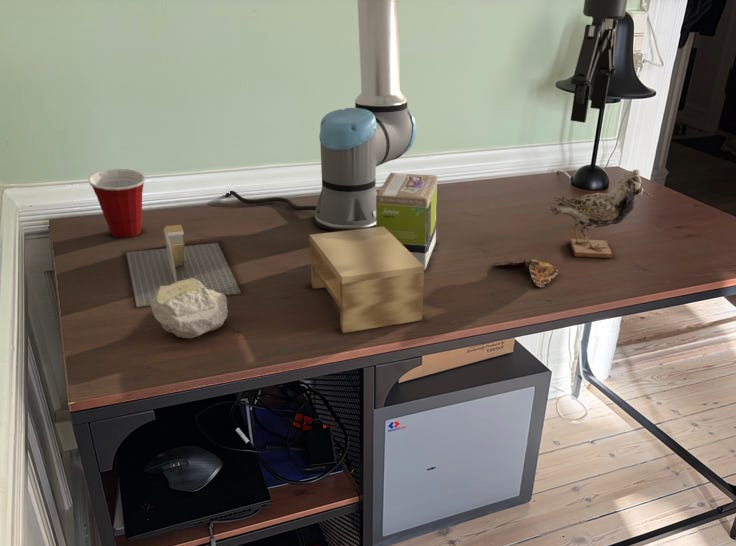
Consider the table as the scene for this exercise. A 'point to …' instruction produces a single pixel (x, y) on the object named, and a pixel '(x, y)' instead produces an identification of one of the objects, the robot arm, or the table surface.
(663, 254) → the table surface
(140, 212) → the plastic cup
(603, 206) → the stuffed bird
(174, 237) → the model
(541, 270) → the butterfly model
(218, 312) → the white rock
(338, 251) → the birch shelf
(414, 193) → the tea box
